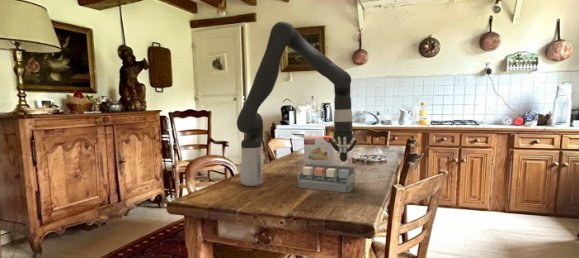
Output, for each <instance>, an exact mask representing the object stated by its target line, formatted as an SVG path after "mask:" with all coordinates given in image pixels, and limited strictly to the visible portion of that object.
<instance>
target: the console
mask: <svg viewBox="0 0 579 258" xmlns="http://www.w3.org/2000/svg"><path fill="white" fill-rule="evenodd" d="M305 167H313V173H312V174H310V175H303V170H302V171H301V172H297V173H296V176H297V177H296V178H297V179H296V180H297V182H296V183H297V188H300V189H311V190H320V191H328V192H336V193H337V192H338V193H346V194H347V193H350V192H351V191H352V190H353V189H354V188H356V174H355V173H356V167H355V166H354V165H353V166H351V165H339V164H338V165H337V164H334V165H326V164H311V163H305ZM317 167H319V168H325V174H324V175H322V176H314V169H315V168H317ZM329 168H332V169H337V175H336V176H334V177H326V170H327V169H329ZM340 169H345V170H349V176H348V177H347V178H338V171H339V170H340Z"/></svg>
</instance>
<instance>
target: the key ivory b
mask: <svg viewBox="0 0 579 258" xmlns="http://www.w3.org/2000/svg"><path fill="white" fill-rule="evenodd" d="M336 175H337V169H332V168H329V169H327V170H326V177H334V176H336Z"/></svg>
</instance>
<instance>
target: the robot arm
mask: <svg viewBox="0 0 579 258" xmlns="http://www.w3.org/2000/svg"><path fill="white" fill-rule="evenodd" d="M287 47H288V48H290V49H291V50H293V51H295V52H296V53H297V54H298V55H299V56H300V57H301V58H302V59H303V60H304V61H305V62H306V63H307V64H308V65H309V66H310V67H311V68H312V69H313V70H314V71H316V72H317V73H319V74H320V75H321V76H323V77H325V78H326V79H328V81H329V82H331V84H333V88H334V89H333V90H334V101H333V103H334V105H333V107H334V112H333V130H334V131H333V135H332V136H333V138H331V139H329V142H330V144H331V145H332V146H333V148H334V151H336V152H339V160H340V162H343V163H345V162H347V161H348V152H351V151H353V149H354V148H355V146H356V145H357V144H358V143H359V142H360V140H359V139H358V138H356V137H354V136H355V135H354V133H353V112H352V98H351V84H352V77H351V75H350V73H348V72H347V71H346V70H345V69H343V68H341V67H340V66H339V65H337V64H336V63H335V62H333V61H332V60H331V59H330V58H329V57H328V56H326V55H325V54H324V53H322V52H321V51H320V50H318V49H317V48H316V47H315V46H314V45H312V44H311V43H309V42H308V41H307V39H305V38H304V37H303V36H302V35H301V34H300V33H299V32H298V30H297V29H296V28H295V27H294V25H292V24H291V23H289V22H287V21H278V22H276V23H274V24H273V26H272V27H271V30H270V33H269V37H268V40H267V45H266V48H265V52H264V54H263V56H262V59H261V61H260V64H259V65H258V69H257V71H256V73H255V76H254V77H253V78H254V79H253V81H252V85H251V88H250V89H249V92H248V95H247V97H246V100H245V102H244V103H243V104H244V105H243V106H242V108H241V110H240V112H239V114H238V115H237V119H236V126H237V127H236V128H237V130H238V131H239V132H241V133H242V134H246V135H245V137H244V139H242V140H241V142H240V147H241V150H240V151H241V162H240V164H239V168H240V169H239V170H240V171H239V175H240V185H243V186H248V187H249V186H250V187H252V186H253V187H254V186H260V185H262V184H263V163H262V162H263V161H262V160H263V159H262V157H263V156H262V154H263V153H262V142H263V140H264V121H263V118H262V115H261V114H260V113H258V111H259V108H260V107H261V105H262V104H263V103H264V101H265V100H267V98H268V97H269V96H270V95H271V93H272V92H273V90H274V89H275V85H276V83H277V80H278V77H279V73H280V64H281V60H282V56H283V54H284V52H285V49H286V48H287ZM350 143H351V144H350ZM349 144H350V146H349Z"/></svg>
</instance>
